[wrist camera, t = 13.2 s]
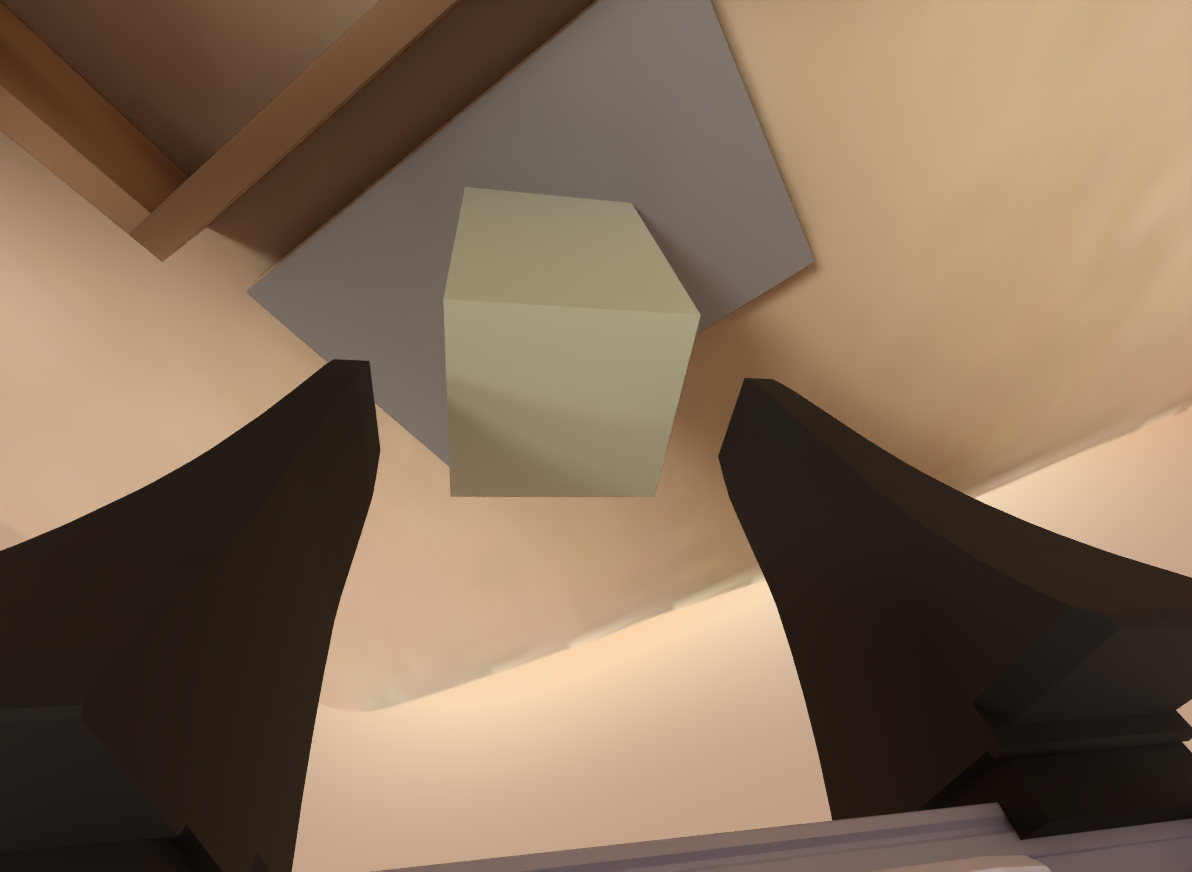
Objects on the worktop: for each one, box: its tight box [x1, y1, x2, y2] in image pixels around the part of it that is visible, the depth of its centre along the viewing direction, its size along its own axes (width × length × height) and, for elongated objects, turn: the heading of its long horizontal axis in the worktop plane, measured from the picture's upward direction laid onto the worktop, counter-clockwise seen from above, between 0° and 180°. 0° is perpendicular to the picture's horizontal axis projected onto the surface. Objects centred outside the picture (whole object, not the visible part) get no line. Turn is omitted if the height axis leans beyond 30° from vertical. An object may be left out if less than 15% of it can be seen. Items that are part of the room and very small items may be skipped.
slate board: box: [246, 0, 815, 467], centre depth 17 cm, size 9×14×1 cm, turn 123°
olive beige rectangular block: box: [443, 187, 701, 497], centre depth 14 cm, size 4×5×7 cm
